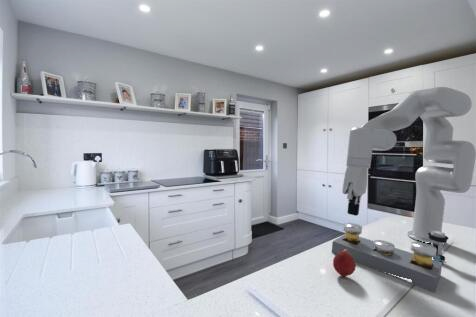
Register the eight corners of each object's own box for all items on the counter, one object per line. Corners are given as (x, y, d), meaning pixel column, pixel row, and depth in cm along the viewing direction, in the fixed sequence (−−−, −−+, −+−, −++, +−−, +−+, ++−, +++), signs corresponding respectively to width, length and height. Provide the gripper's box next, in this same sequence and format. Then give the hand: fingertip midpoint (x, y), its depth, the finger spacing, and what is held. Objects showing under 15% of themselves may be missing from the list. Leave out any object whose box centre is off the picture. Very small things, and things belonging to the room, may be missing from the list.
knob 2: (411, 258, 72) (413, 240, 72) (435, 266, 68) (437, 246, 68) (407, 264, 68) (409, 244, 68) (432, 273, 64) (435, 252, 64)
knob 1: (346, 237, 87) (347, 221, 86) (362, 242, 83) (364, 226, 82) (339, 241, 83) (341, 224, 83) (356, 247, 79) (358, 229, 78)
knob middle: (375, 255, 80) (376, 238, 79) (394, 262, 76) (396, 244, 75) (369, 260, 76) (371, 242, 75) (390, 268, 72) (392, 249, 71)
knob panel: (346, 242, 90) (347, 232, 90) (440, 275, 70) (442, 262, 70) (331, 252, 81) (332, 241, 81) (434, 292, 61) (436, 278, 61)
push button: (453, 267, 75) (456, 238, 75) (436, 266, 76) (439, 236, 75) (436, 257, 82) (440, 230, 81) (421, 256, 82) (424, 229, 82)
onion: (344, 284, 62) (347, 256, 62) (327, 273, 68) (329, 246, 67) (358, 279, 65) (361, 252, 65) (341, 269, 70) (343, 243, 70)
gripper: (355, 162, 89) (350, 208, 90) (338, 161, 78) (333, 214, 79) (376, 164, 83) (371, 214, 84) (362, 164, 73) (356, 221, 74)
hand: (352, 214), depth 82 cm, fingers closed
